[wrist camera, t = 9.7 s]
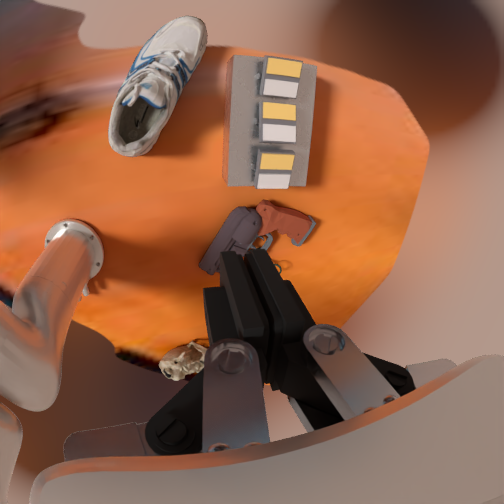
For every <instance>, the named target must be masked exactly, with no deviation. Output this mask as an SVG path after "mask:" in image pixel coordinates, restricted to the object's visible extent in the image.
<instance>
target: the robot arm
mask: <svg viewBox="0 0 504 504" xmlns="http://www.w3.org/2000/svg"><path fill="white" fill-rule="evenodd" d="M92 235H93V236H92ZM103 261H104V249H103V245H102V242H101V240H100V238H99V236H98V235H97V233H96V232H95V231H94V230H93V229H92V228H91V227H90V226H89V225H87V224H85V223H84V222H82V221H79V220H75V219H64V220H61V221H59V222H57V223H55V224H54V225H53V226H52V227H51V229H50V230H49V231H48V233H47V235H46V239H45V249H44V250H43V252H42V253H41V254H40V256H39V257H38V258H37V260H36V261H35V263H34V264H33V265H32V267H31V268H30V270H29V271H28V273H27V274H26V276H25V277H24V279H23V280H22V282H21V283H20V285H19V286H18V288H17V290H16V292H15V295H14V299H13V313H12V312H11V311H10V310H9V309H8V308H7V307H6V306H5V305H4V304H3V303H2V302H1V301H0V394H1V395H2V396H4V397H5V398H7V399H8V400H9V401H11V402H13V403H14V404H16V405H18V406H20V407H22V408H25V409H27V410H31V411H42V410H45V409H47V408H48V407H50V406H51V405H52V404H53V402H54V401H55V399H56V397H57V394H58V392H59V387H60V383H61V373H62V355H63V347H64V342H65V338H66V335H67V331H68V328H69V325H70V322H71V320H72V317H73V314H74V311H75V309H76V306H77V303H78V302H79V301H81V299H82V297H81V293H82V292H83V295H84V296H88V295H89V294H90V292H89V289H88V287H87V284H88V282H89V279H91V278H93V277H94V276H95V275H96V274H97V273H98V272H99V271H100V269H101V267H102V264H103ZM203 296H204V309H205V319H206V326H207V332H208V338H209V344H210V346H209V348H208V349H207V350H206V353H205V357H204V368H203V369H202V370H201V371H200V372H199V373H198V374H197V375H196V376H195V377H194V378H193V379H191V380H190V381H189V382H188V384H186V385H185V386H184V387H183V388H182V389H181V390H180V391H179V392H178V393H177V394H176V395H175V396H174V397H173V398H172V399H171V400H170V401H169V402H168V403H167V404H166V405H165V406H163V407H162V408H161V409H160V410H159V411H158V412H157V413H156V414H155V415H154V416H153V417H152V418H151V419H150V420H149V422H146V423H142V424H136V423H135V422H133V423H128V424H123V425H118V426H112V427H106V428H100V429H94V430H86V431H79V432H76V433H72V434H71V435H70V436H69V437H68V438H67V439H66V441H65V443H64V457H65V462H63V463H60V464H56V465H54V466H51V467H49V468H47V469H45V470H44V471H42V472H41V473H40V474H39V475H38V476H37V477H36V479H35V481H34V483H33V486H32V489H31V494H30V501H29V504H504V356H501V355H484V356H479V357H476V358H472V359H470V360H468V361H465V362H464V363H462V364H460V365H458V366H456V364H455V363H453V362H452V361H451V360H448V359H439V360H434V361H429V362H424V363H419V364H412V365H406V367H405V368H403V367H401V366H399V365H397V364H394V363H391V362H388V361H385V360H382V359H379V358H376V357H373V356H370V355H368V354H365V353H362V352H361V350H360V349H359V348H358V347H357V346H356V345H355V344H354V343H353V341H352V340H351V339H350V338H349V337H348V336H347V335H346V333H344V332H343V331H342V330H341V329H339V328H337V327H335V326H332V325H328V324H319V325H316V324H315V322H314V320H313V319H312V317H311V315H310V314H309V312H308V310H307V308H306V307H305V305H304V303H303V302H302V300H301V298H300V297H299V295H298V293H297V292H296V290H295V288H294V287H293V285H292V283H291V282H290V281H289V280H283V279H282V278H281V276H280V274H279V272H278V271H277V269H276V267H275V265H274V264H273V262H272V260H271V258H270V257H269V255H268V253H267V251H266V250H265V249H252V250H250V251H249V254H245V255H244V260H243V258H242V255H241V254H236V252H235V251H223V252H220V287H210V288H203ZM264 382H265V384H268V383H270V385H271V388H272V391H275V390H280V391H281V392H282V393H284V394H286V395H287V398H288V400H289V403H290V405H291V406H292V408H293V409H294V411H295V413H296V414H297V416H298V418H299V419H300V421H301V423H302V424H303V426H304V427H305V429H306V431H307V432H308V433H305V434H302V435H298V436H295V437H291V438H286V439H282V440H278V441H274V442H270V437H269V430H268V423H267V417H266V409H265V402H264V396H263V388H264ZM21 442H22V426H21V424H20V421H19V420H18V418H17V417H16V416H15V415H14V413H13V412H12V411H11V410H10V409H8V408H7V407H6V406H5V405H3V404H2V403H1V402H0V504H8V501H7V492H8V488H9V484H10V480H11V476H12V473H13V469H14V466H15V463H16V460H17V456H18V453H19V450H20V447H21Z"/></svg>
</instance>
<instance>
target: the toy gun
mask: <svg viewBox="0 0 504 504" xmlns="http://www.w3.org/2000/svg"><path fill="white" fill-rule="evenodd" d="M315 225H316V222H315V221H314V219H313V218H312V217H311V216H308V217H307V216H306V215H304V214H302V213H300V212H299V211H296V210H293V209H289V208H284V207H277V206H275V205H273V204H272V203H271V202H269V201H268V200H262V201H261V202H260V203H259V204H258V206H257V207H256V209H253V208H248V209H247V207H245V206H244V207H237V208H236V209H234V210H233V211H232V212H231V213H230V214H229V216H228V218H227V219H226V221H225V222H224V224H223V226H222V227H221V229H220V230H219V232H218V234H217V235H216V237H215V239H214V240H213V242H212V244H211V245H210V247H209V249H208V250H207V252H206V254H205V255H204V257H203V259H202V260H201V262H200V263H199V267H200V268H201V269H202V270H204V271H206V272H207V273H208V274H210V275H213V274H214V273H215V272H219V273H220V252H223V251H235V252H236V254H241V255H242V257H244V255H245V254H249V251H247V250H248V249H249V248H254V249H256V247H255V246H254V245H252V243H253V242H254V241H255V239H256V238H257V237H259V238H262V239H263V237H262V236H261V235H267V236H269V237H268V239H267V241H266V242H265V244H264V245H263V246H262V247H261V248H257V249H265V250H267V249H268V248H269V246H270V245H271V243H272V241H273V238H272V235H271V233H270V232H272V231H274V230H278V233H280V234H282V235H283V234H285V233H287V236H288V237H290V238H292V239H291V240H292V244H293V245H295V246H301V245H302V243H303V242H304V241H305V239H306V238H307V237H308V235H309V234H310V233H311V231H312V229H313V228H314V226H315ZM263 240H264V239H263ZM274 265H277V266H278V267H279V268H280V272H279V274H280V273H281V271H282V270H281V267H280V266H279V265H278V264H274Z"/></svg>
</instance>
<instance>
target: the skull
mask: <svg viewBox="0 0 504 504" xmlns="http://www.w3.org/2000/svg"><path fill="white" fill-rule="evenodd" d="M207 349H208V348H206V347H203V346H201V345H199V344H196V343H194V341H193V340H192V341H191V342H190V343H189V344H188V345H186V346H180V347H176V348H174V349H172V350H170V351H169V352H167V353H166V354H165V356H164V357H163V359H162V360H161V361H160V364H159V367H160V369H161V371H162V373H163V374H164V375H165V376H166V377H167V378H168V379H173V380H175V381H176V380H177V381H178V380H180V379H183V378H184V377H185V375H186V374H191V372H193V373H194V372H196V373H199V372H200V371H201V370H202V369H203V368H204V357H205V353H206V350H207Z"/></svg>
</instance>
